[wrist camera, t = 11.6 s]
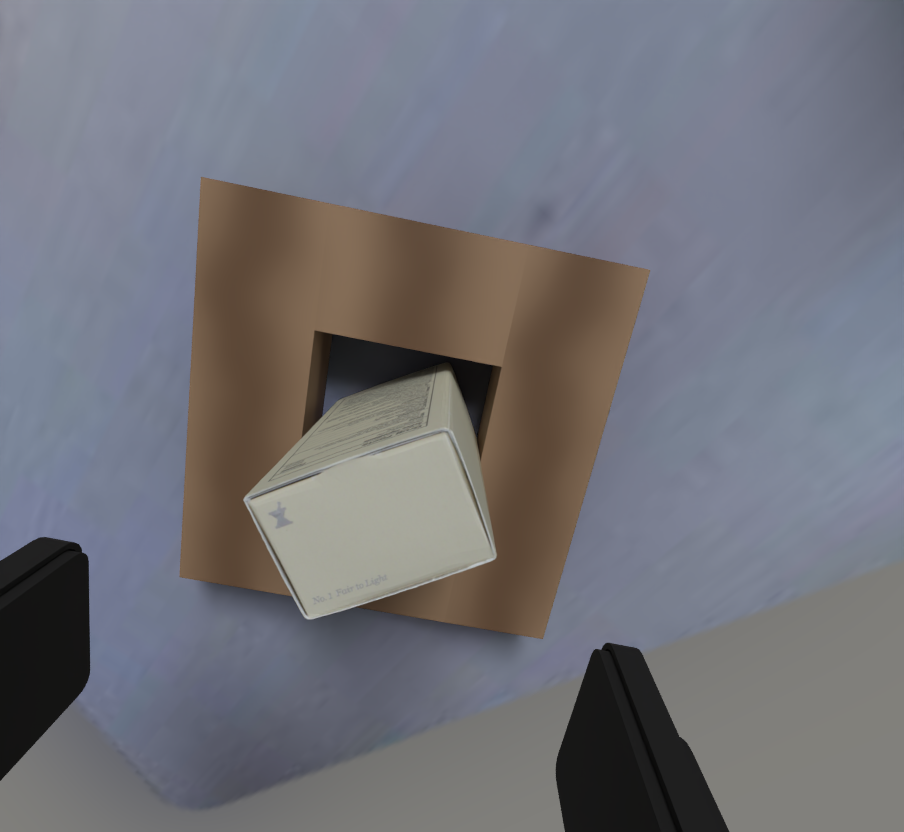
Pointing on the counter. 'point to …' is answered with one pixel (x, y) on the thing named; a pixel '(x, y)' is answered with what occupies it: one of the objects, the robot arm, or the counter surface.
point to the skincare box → (377, 496)
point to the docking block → (408, 326)
